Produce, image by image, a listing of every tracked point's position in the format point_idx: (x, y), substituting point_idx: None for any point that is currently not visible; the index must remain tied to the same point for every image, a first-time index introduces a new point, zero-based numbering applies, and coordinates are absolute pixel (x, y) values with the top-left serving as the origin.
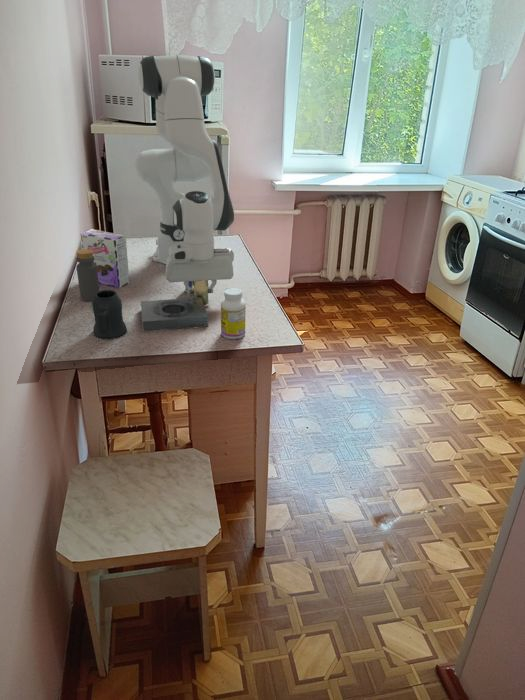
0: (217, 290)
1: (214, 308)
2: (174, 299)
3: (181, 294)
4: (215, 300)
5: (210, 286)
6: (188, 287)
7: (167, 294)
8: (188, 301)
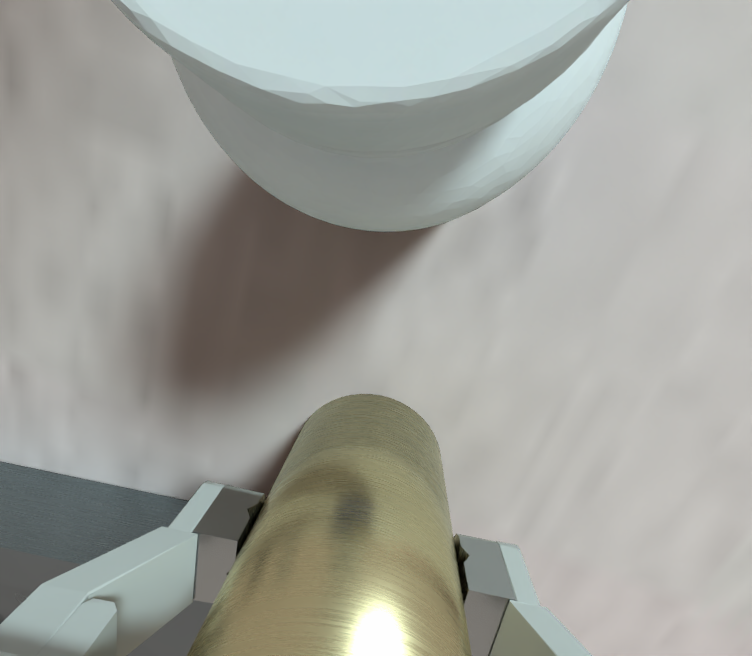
0: (673, 219)
1: None
2: (52, 564)
3: (234, 195)
4: (520, 462)
5: (504, 625)
6: (150, 635)
7: (84, 140)
8: (184, 650)
